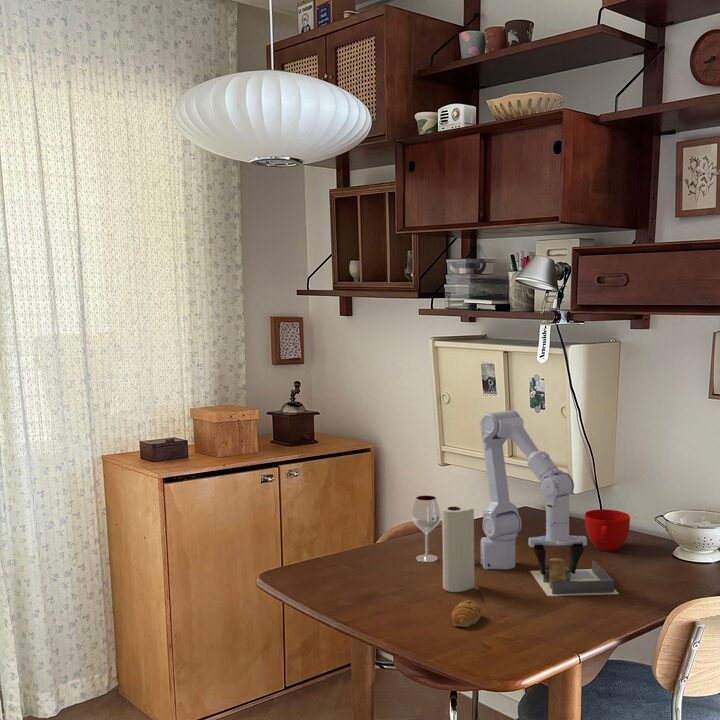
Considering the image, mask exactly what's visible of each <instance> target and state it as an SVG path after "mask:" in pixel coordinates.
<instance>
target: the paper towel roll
mask: <svg viewBox="0 0 720 720" xmlns="http://www.w3.org/2000/svg"><path fill="white" fill-rule="evenodd" d="M441 509H442V510H441V514H442V515H441V517H442V522H441V524H442V588H443V590H444V589H445V590H444V591H447V592H450V593H460V592H465V591H468V590H471V589H475V509H474V508H470V509H466V507H463V506H458V505H449V506H444V507H442V508H441Z"/></svg>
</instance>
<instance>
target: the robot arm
mask: <svg viewBox="0 0 720 720" xmlns="http://www.w3.org/2000/svg"><path fill="white" fill-rule="evenodd" d="M479 425H480V426H479V427H480V432H481V441H482V447H483V457H484V465H485V473H486V480H487V488H488V496H489V504H488V505H487V506H486V507H485V509H483V511H482V514H483V520H482V531H483V532H484V534H485V535H486V537H485V536H484V537H481V539H480V565H482V567H483V569H484V570H512V569H514V568H515V567H516V538H517V537H518V533H519V532H520V531H521V530H522V527H523V526H522V525H523V524H522V519H521V516H520V515H519V510H518V507H517V506H516V504H514V503H513V502H511V500H510V495H509V493H510V492H509V485H508V477H507V469H506V463H505V454H504V447H503V445H504V444H505V442H506V441H507V440H508V439H509V440H512V442H513V443H514V444H515V445H516V446H517V448H519V450H520V451H521V453H522V454H523V455H525V456H526V458H527V466H528V467H529V469H530V470H531V471H532V473H533V474H534V475H535V476H536V478H537V479H538V481H539V482H540V483H541V484H540V490H541V493H542V495H543V499H544V500H543V501H544V504H545V520H546V521H545V529H546V530H545V531H546V532H545V535H542V536H533V537H532V536H531V537H528V546H529V547H530V548H532V549H533V551H534V554H535V556H536V558H537V561H538V565H539V571H540V572H541V574H542V575H545V570H546V554H547V551H546V550H545V547H549V546H550V547H551V546H552V547H554V546H568V547H569V548H568V549H569V569H570V572H571V573H572V574H575V571H576V570H577V566H578V563H579V560H580V558H581V557H582V555H583V553H584V550H585V547H584V546H587V545H588V538H587V537H586V536H585V535H571V534H570V495H571V494H572V493H573V492H574V490H575V483H574V480H573V477H571V474H570V473H568V472H565V471H563V470H562V469H559V467H558V466H557V465H556V464H555V462H554V461H553V459H552V458H551V457H550V455H549V454H548V453H547V452H546V451H540V450H539V449H538V447H537V446H536V444H535V443H534V441H533V439H532V438H531V436H530V435H529V434H528V432H527V430H526V428H525V427H524V419H523V418H522V417H521V415H520V414H519V412H518V411H517V410H516V409H515V410H514V409H510V410H507V411H506V410H505V411H497V412H485V413H484V415H483V417H482V418H481V419H480V420H479Z"/></svg>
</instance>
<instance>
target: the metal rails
mask: <svg viewBox="0 0 720 720" xmlns="http://www.w3.org/2000/svg"><path fill="white" fill-rule="evenodd" d="M591 569H592V572H593V573H594V574H595V575H596V576H597V577H598V578H599V579H600V580H599V581H570V567H569V566H567V565H566V581H563V582H552V594H581V593H614V589H615V580H614V579H613V578H612V577H611V576H610V575H609V574H608V573H607V572H606V571H605V570H604V569H603V568H602V567H601V565H599V564H598V562H597V561H596V560H594V559H592V560H591ZM543 582H550V569H547V570H546V569H545V575H543Z"/></svg>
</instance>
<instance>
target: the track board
mask: <svg viewBox="0 0 720 720" xmlns="http://www.w3.org/2000/svg"><path fill="white" fill-rule="evenodd" d="M529 572H530V574H531V575H532V576H533V578H534V579H535V581H536V583H538V585H539V586H540V587H541V589H542V590H543V592H544V593H545V594H546V596H548V597H559V596H561V597H562V596H594V595H595V596H596V595H597V596H599V595H619V594H620V593H619V592H618V591H617V589H615V588H614V593H581V594H552V589H551V588H550V582H543V575H542V574H541V572H540V570H529ZM599 580H600V579H599V578H598V577H597V576H596V575H595V574H594V573H593V572H592V568H589V569H587V568H586V569H582V568H581V569H576V571H575V574H572V573H571V572H570V581H599Z"/></svg>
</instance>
